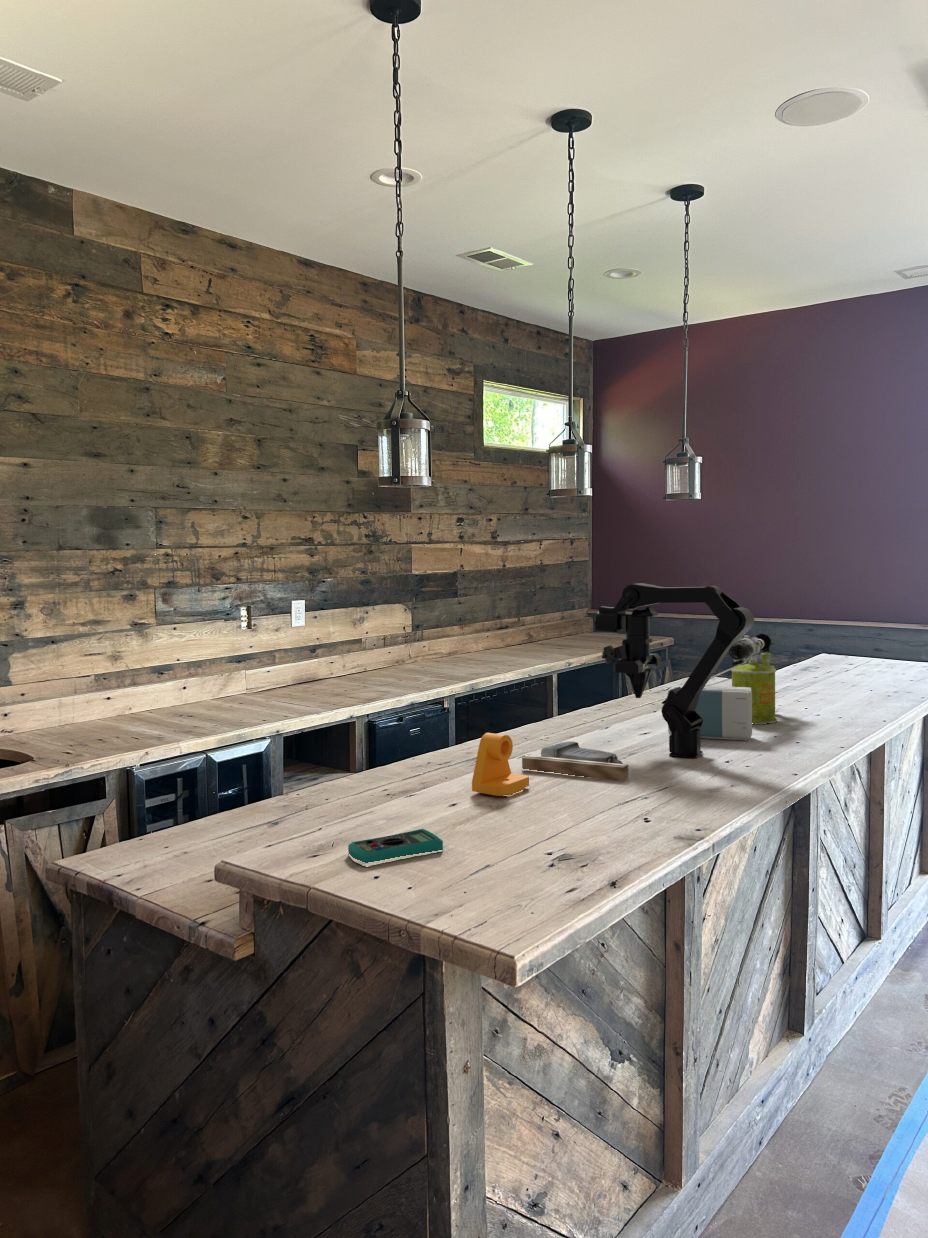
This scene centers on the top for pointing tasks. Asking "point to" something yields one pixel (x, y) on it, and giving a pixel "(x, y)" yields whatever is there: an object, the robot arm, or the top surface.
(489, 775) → the bracket
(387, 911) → the top surface
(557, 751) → the handheld device
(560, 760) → the beam
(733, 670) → the blowtorch
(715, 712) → the stereo radio cassette player
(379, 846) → the digital multimeter
